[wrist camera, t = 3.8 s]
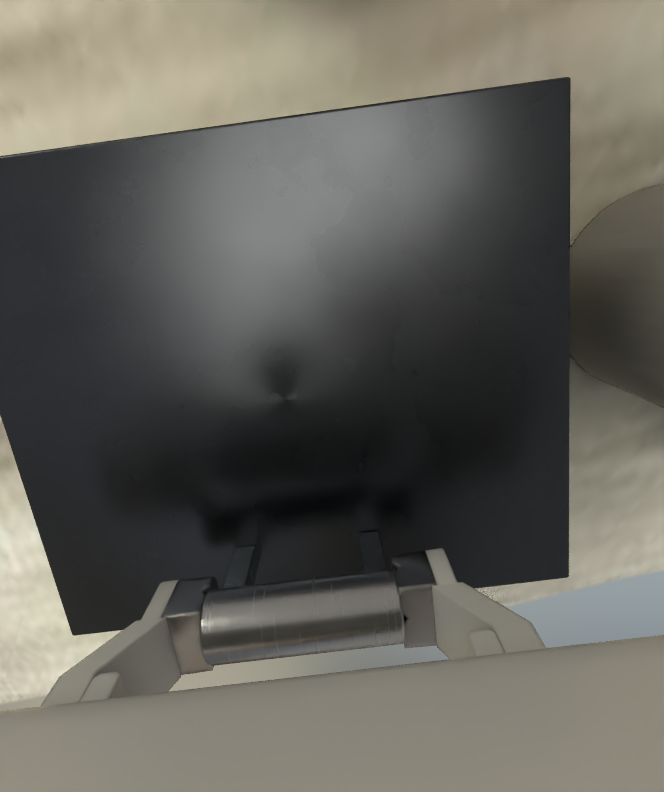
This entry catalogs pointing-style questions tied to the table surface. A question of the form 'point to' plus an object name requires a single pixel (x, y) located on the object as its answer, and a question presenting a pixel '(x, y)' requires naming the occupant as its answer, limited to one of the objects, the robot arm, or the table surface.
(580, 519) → the table surface
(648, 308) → the coffee mug
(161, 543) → the black box lid
